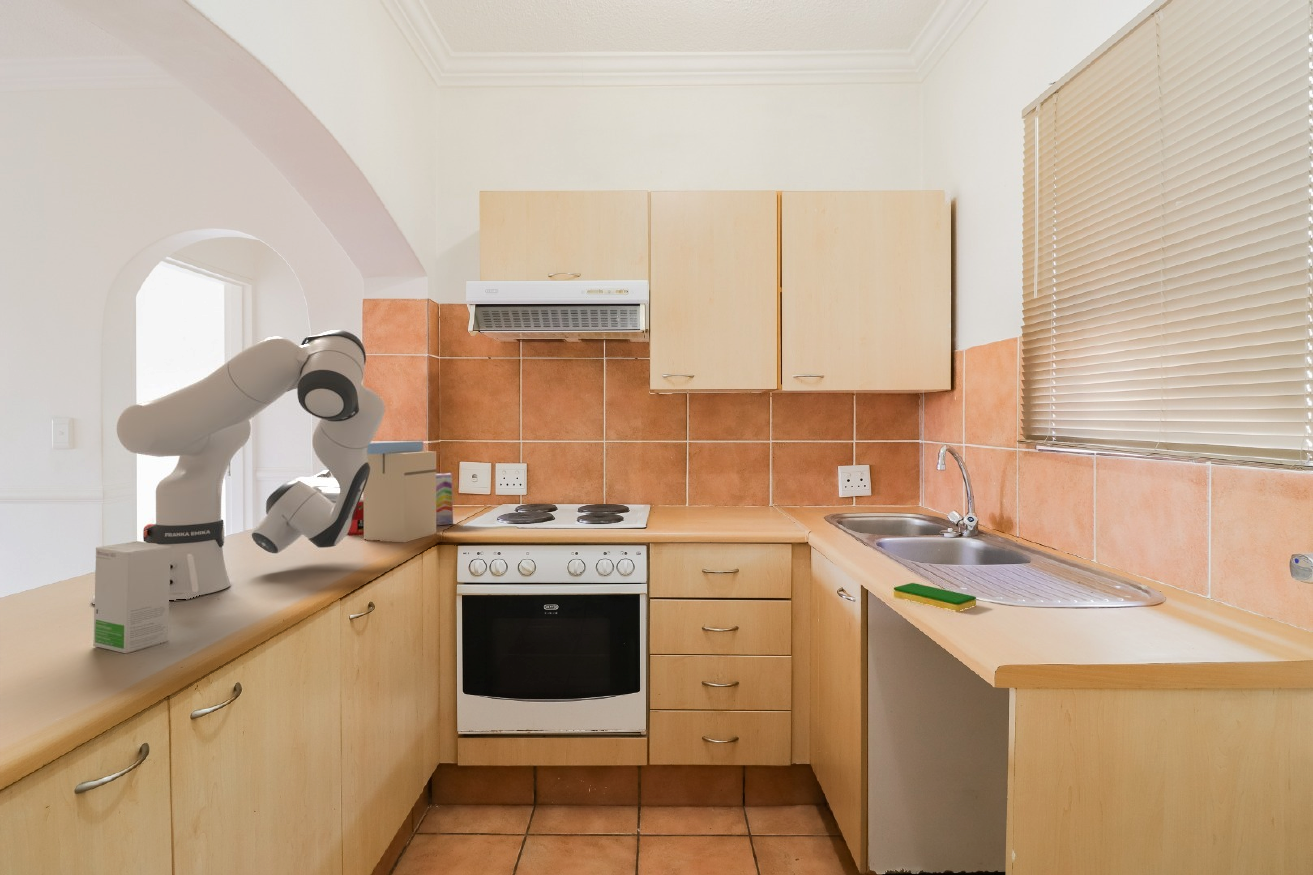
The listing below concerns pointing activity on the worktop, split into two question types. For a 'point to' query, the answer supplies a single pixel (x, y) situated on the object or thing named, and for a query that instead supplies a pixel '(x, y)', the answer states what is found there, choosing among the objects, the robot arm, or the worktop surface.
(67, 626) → the worktop surface
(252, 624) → the worktop surface
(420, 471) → the kraft carton
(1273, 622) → the worktop surface
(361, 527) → the canned food
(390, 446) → the bar
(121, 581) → the skincare box
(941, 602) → the dish sponge
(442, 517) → the cake pan box
